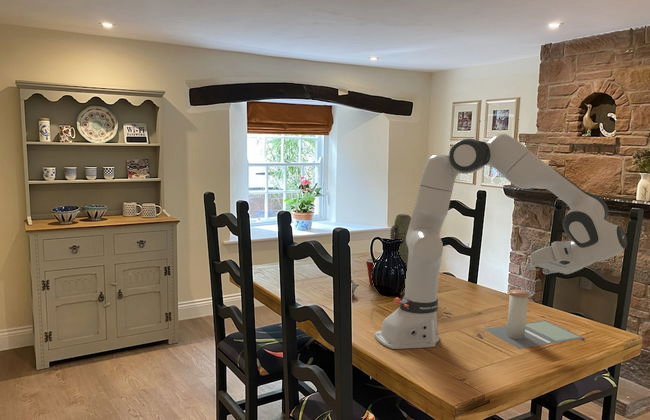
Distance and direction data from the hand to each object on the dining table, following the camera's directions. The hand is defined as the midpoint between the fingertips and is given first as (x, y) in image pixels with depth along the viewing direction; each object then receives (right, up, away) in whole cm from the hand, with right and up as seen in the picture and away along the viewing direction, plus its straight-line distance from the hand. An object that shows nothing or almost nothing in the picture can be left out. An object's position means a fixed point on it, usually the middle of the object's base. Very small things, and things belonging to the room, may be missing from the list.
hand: (535, 269), depth 171 cm
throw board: (+4, -25, +12) cm, 28 cm away
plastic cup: (-46, -15, +71) cm, 86 cm away
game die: (-60, -18, +53) cm, 82 cm away
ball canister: (-3, -24, +9) cm, 26 cm away
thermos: (-36, -17, +60) cm, 72 cm away
